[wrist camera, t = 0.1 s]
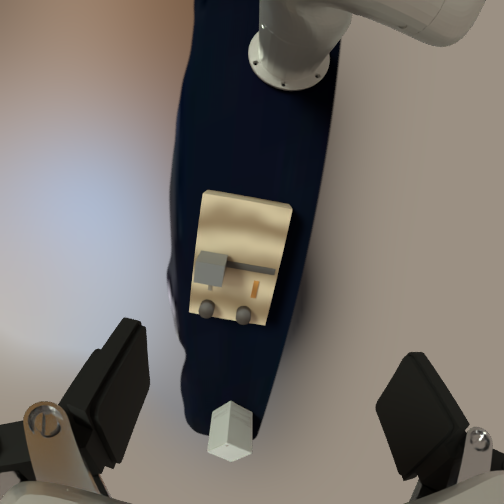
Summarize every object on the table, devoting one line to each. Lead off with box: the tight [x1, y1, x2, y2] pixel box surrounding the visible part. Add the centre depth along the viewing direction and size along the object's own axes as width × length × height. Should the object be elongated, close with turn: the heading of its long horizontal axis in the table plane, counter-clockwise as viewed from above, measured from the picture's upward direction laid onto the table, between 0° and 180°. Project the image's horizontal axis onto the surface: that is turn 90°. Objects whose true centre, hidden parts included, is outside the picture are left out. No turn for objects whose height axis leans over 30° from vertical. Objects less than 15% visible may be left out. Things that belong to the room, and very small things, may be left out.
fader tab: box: [193, 250, 228, 287], centre depth 40 cm, size 3×4×4 cm
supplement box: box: [207, 401, 252, 462], centre depth 55 cm, size 7×7×13 cm
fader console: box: [189, 190, 293, 325], centre depth 44 cm, size 20×13×6 cm, turn 170°
